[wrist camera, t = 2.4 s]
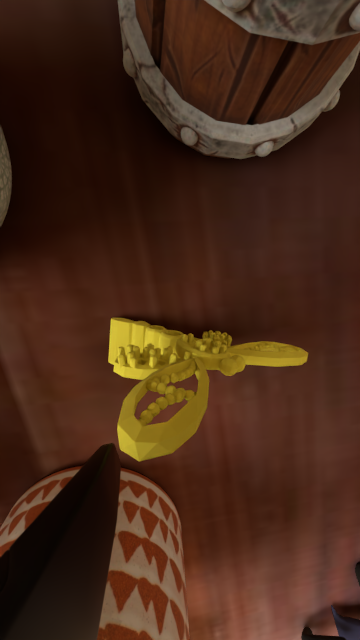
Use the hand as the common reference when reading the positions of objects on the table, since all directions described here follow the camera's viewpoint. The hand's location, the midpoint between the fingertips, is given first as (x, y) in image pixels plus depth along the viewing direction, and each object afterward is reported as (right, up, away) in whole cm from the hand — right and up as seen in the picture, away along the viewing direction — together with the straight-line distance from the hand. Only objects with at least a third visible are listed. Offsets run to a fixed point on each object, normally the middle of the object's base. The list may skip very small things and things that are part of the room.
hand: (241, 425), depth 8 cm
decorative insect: (-1, +2, +8) cm, 9 cm away
